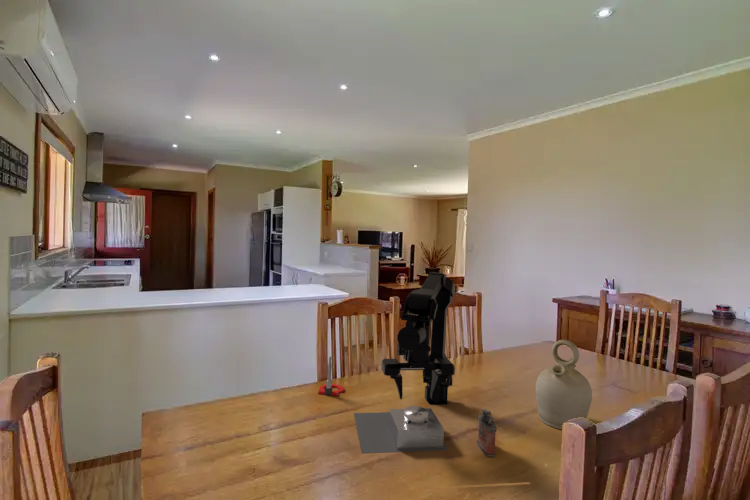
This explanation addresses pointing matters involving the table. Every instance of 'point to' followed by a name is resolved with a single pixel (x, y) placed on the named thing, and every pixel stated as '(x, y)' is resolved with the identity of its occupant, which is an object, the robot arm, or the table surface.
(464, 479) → the table surface
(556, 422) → the jug
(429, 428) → the hitch block
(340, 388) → the tow hook
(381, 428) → the mat
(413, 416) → the silver door knob
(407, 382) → the table surface
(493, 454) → the lighter
